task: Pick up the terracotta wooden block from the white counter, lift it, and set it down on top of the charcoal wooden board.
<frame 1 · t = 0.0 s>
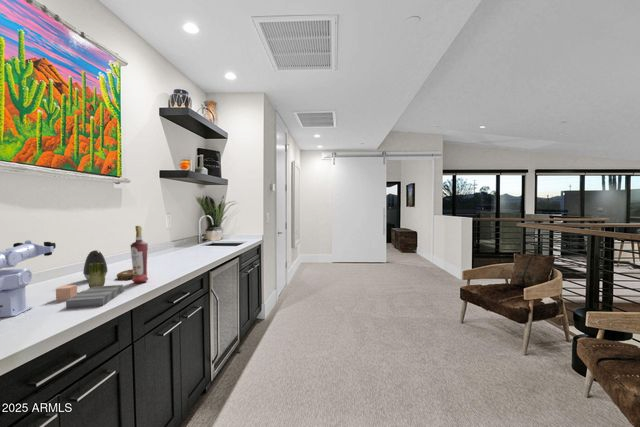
hand: (43, 245, 128), 22 cm above the countertop, tool horizontal, fingers open, 7 cm apart
liquor: (140, 282, 151), on the countertop
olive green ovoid: (96, 279, 159), on the countertop
charcoal board: (97, 299, 124), on the countertop
fennel bulb: (96, 289, 141), on the countertop
terracotta block: (66, 298, 126), on the countertop
decorative rock: (131, 277, 164), on the countertop
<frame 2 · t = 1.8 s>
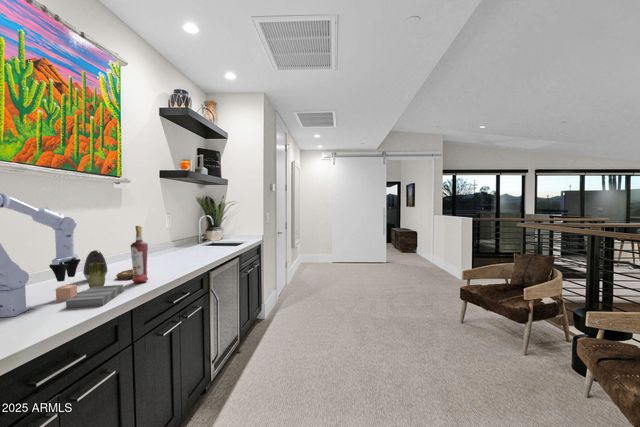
hand: (66, 279, 126), 8 cm above the countertop, tool pointing down, fingers open, 7 cm apart
nothing on the countertop moved.
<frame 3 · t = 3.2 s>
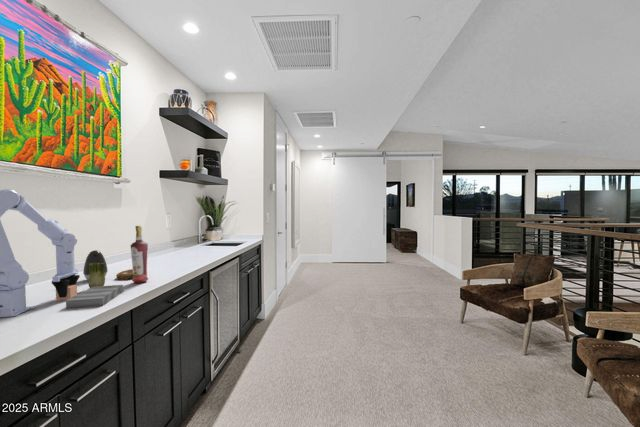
hand: (66, 295, 126), 1 cm above the countertop, tool pointing down, fingers closed on terracotta block, 5 cm apart
terracotta block: (66, 298, 126), on the countertop, touching gripper
everything else where it was.
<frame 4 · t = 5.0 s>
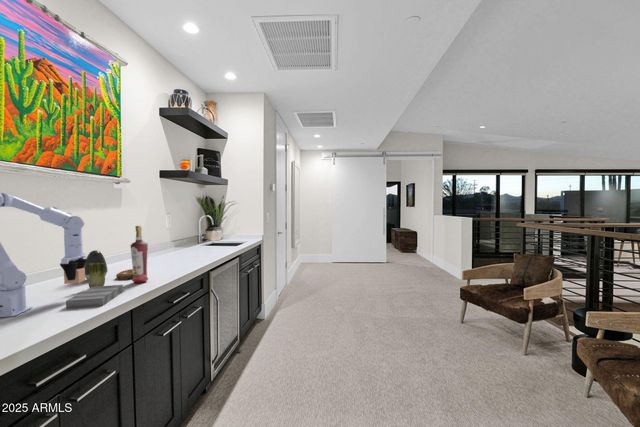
hand: (74, 278, 125), 8 cm above the countertop, tool pointing down, fingers closed on terracotta block, 5 cm apart
terracotta block: (75, 281, 125), point 7 cm above the countertop, touching gripper
everything else where it was.
when the fingers open (6 cm above the countertop, at t = 6.9 s): terracotta block drops 1 cm, resting on charcoal board.
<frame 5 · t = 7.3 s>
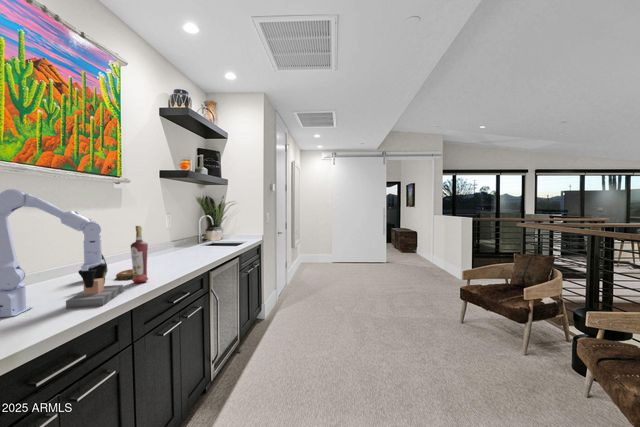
hand: (94, 285, 124), 6 cm above the countertop, tool pointing down, fingers open, 7 cm apart
terracotta block: (94, 292, 124), point 3 cm above the countertop, touching charcoal board
everything else where it was.
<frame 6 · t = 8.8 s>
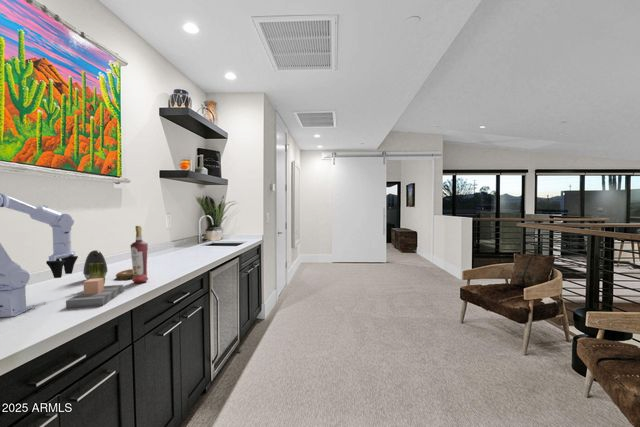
hand: (63, 275, 126), 9 cm above the countertop, tool pointing down, fingers open, 7 cm apart
nothing on the countertop moved.
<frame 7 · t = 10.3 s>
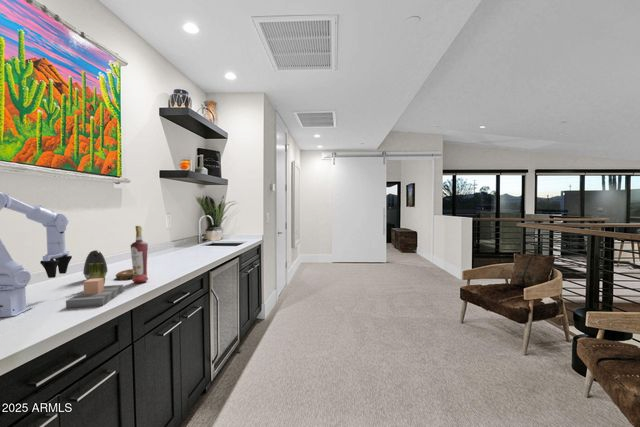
hand: (57, 275, 126), 9 cm above the countertop, tool pointing down, fingers open, 7 cm apart
nothing on the countertop moved.
at the end: terracotta block inside the target area on the charcoal board (1.1 cm from its centre), point 3.0 cm above the charcoal board's base; terracotta block tilted 0°; the gripper is holding nothing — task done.
